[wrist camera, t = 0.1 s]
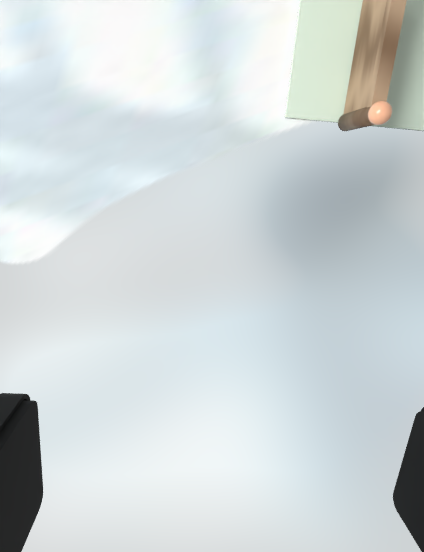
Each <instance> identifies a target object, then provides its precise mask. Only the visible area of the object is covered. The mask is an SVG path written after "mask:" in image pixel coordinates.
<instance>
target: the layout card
mask: <svg viewBox="0 0 424 552" xmlns="http://www.w3.org/2000/svg"><path fill="white" fill-rule="evenodd" d="M362 2H363V0H300V3H299V11H298V18H297V26H296V34H295V42H294V50H293V58H292V65H291V73H290V81H289V89H288V97H287V104H286V112H285V118H295V119H305V120H316V121H326V122H336V123H338V120H339V118H340V117H341V116H342V115H343V113H344V108H345V102H346V96H347V90H348V84H349V78H350V72H351V67H352V61H353V55H354V49H355V43H356V37H357V31H358V26H359V20H360V14H361V8H362ZM386 102H388V103H389V104H390V105H391V107H392V115H391V117H390V119H389V120H388V121H387V122H386V123H384V124H382V125H372V126H377V127H388V128H398V129H408V130H418V131H424V0H407V2H406V7H405V12H404V17H403V21H402V26H401V31H400V36H399V41H398V46H397V51H396V56H395V61H394V66H393V71H392V76H391V81H390V86H389V91H388V96H387V101H386Z"/></svg>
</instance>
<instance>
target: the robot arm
mask: <svg viewBox="0 0 424 552" xmlns="http://www.w3.org/2000/svg"><path fill="white" fill-rule="evenodd" d="M42 498H43V482H42V466H41V451H40V436H39V421H38V407H37V402H36V401H30V397H29V396H28V395H27V394H10V393H8V394H7V393H2V394H0V552H21V551H22V549H23V546H24V544H25V542H26V539H27V537H28V535H29V532H30V530H31V527H32V525H33V523H34V521H35V518H36V516H37V514H38V511H39V509H40V505H41V502H42ZM393 501H394V505H395V508H396V510H397V512H398V513H399V515H400V517H401V518H402V520H403V522H404V523H405V525H406V527H407V528H408V530H409V531H410V533H411V535H412V536H413V538H414V540H415V541H416V543H417V544H418V546H419V548H420V549H421V551H422V552H424V407H423V408H422V410H421V412H418V413H417V414H416V416H415V420H414V423H413V427H412V430H411V433H410V437H409V440H408V444H407V447H406V451H405V454H404V458H403V461H402V465H401V468H400V472H399V476H398V479H397V482H396V486H395V489H394V493H393Z"/></svg>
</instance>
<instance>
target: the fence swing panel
mask: <svg viewBox="0 0 424 552" xmlns="http://www.w3.org/2000/svg"><path fill="white" fill-rule="evenodd" d="M406 2H407V0H363V2H362V8H361V14H360V20H359V26H358V31H357V37H356V43H355V49H354V55H353V61H352V67H351V72H350V78H349V84H348V90H347V96H346V102H345V108H344V113H343V115H342V116H341V117H340V118H339V120H338V126H339V128H340V129H341V130H342V131H348V130H353V129H357V128H362V127H367V126H372V125H382V124H384V123H386V122H387V121H388V120H389V119H390V117H391V115H392V107H391V105H390V104H389V103H388V102H386V101H387V96H388V91H389V86H390V81H391V76H392V71H393V66H394V61H395V56H396V51H397V46H398V41H399V36H400V31H401V26H402V21H403V17H404V12H405V7H406Z"/></svg>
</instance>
